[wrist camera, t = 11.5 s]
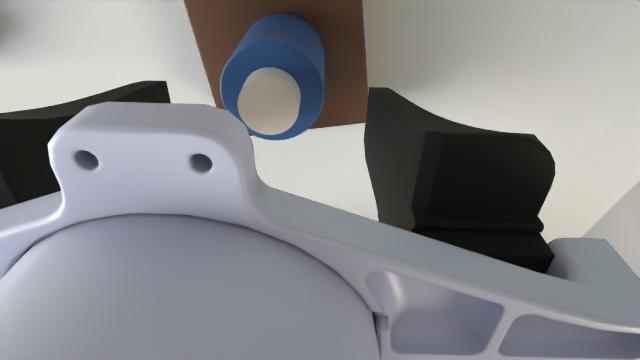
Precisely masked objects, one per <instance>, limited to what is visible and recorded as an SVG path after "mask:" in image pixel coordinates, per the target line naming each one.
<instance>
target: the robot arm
mask: <svg viewBox="0 0 640 360" xmlns="http://www.w3.org/2000/svg"><path fill="white" fill-rule="evenodd" d="M364 146H365V158H366V163H367V167H368V171H369V175H370V179H371V183H372V187H373V191H374V195H375V199H376V204H377V210H378V218H379V222H378V221H375V220H372V219H369V218H365V217H362V216H359V215H356V214H353V213H350V212H347V211H344V210H340V209H337V208H334V207H331V206H328V205H325V204H322V203H318V202H315V201H312V200H309V199H306V198H303V197H300V196H296V195H293V194H290V193H287V192H284V191H281V190H278V189H275V188H271V187H269V186H268V185H266V184H265V183H264V182H263V181H262V180H261V179H260V178H259V176H258V174H257V171H256V167H255V160H254V148H253V143H252V140H251V138H250V135H249V133H248V130H247V128H246V125H244V124H243V123H242V122H241V121H240V120H239V119H237V118H236V117H235V116H234V115H233V114H232V113H230V112H229V111H228V110H224V109H220V108H216V107H213V106H209V105H205V104H172V103H171V102H170V97H169V92H168V88H167V83H166V81H141V82H136V83H132V84H129V85H125V86H122V87H119V88H116V89H112V90H109V91H106V92H103V93H100V94H96V95H93V96H89V97H86V98H82V99H79V100H75V101H71V102H67V103H63V104H58V105H53V106H48V107H43V108H37V109H30V110H23V111H15V112H8V113H0V360H640V279H639V277H638V276H637V275H636V274H635V273H634V272H633V270H632V269H631V268H630V267H629V266H628V265H627V264H626V262H624V260H623V259H622V258H621V257H620V256H619V254H618V253H617V252H616V251H615V250H614V249H613V247H612V246H611V245H610V244H609V243H608V242H607V241H606V239H592V238H558V239H555V240H553V241H551V242H549V243H548V244H547V243H546V242H545V240H544V239H543V237H542V236H541V234H540V233H539V232H542V231H543V229H544V224H543V223H542V222H541V220H540V219H539V217H538V214H539V212H540V210H541V207H542V205H543V203H544V201H545V199H546V197H547V194H548V192H549V190H550V188H551V186H552V183H553V179H554V176H555V162H554V160H553V157H552V155H551V153H550V151H549V150H548V149H547V148H546V147H545V146H544V145H543V144H542V143H541V142H540V141H539V140H538V138H537V137H536V136H535V135H534V134H521V133H508V132H498V131H492V130H486V129H480V128H475V127H471V126H467V125H463V124H460V123H456V122H453V121H450V120H447V119H445V118H442V117H440V116H437V115H435V114H432V113H430V112H428V111H426V110H424V109H423V108H421V107H419V106H417V105H415V104H414V103H412V102H410V101H409V100H407V99H406V98H404V97H402V96H401V95H399V94H398V93H396V92H395V91H393V90H391V89H389V88H380V87H369V95H368V105H367V114H366V124H365V133H364Z"/></svg>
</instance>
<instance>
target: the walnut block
mask: <svg viewBox="0 0 640 360" xmlns="http://www.w3.org/2000/svg"><path fill="white" fill-rule="evenodd" d="M183 1H184V4H185V7H186V10H187V14H188V17H189V20H190V23H191V26H192V30H193V33H194V36H195V39H196V43H197V46H198V49H199V52H200V56H201V59H202V62H203V65H204V68H205V72H206V75H207V78H208V81H209V85H210V88H211V91H212V94H213V97H214V101H215V104H216V107H217V108H220V109H224V110H226V109H225V107H224V105H223V102H222V99H221V94H220V79H221V74H222V71H223V68H224V66H225V64H226V63H227V61H228V60H229V58H230V57H231V55H232V54H233V52H234V51H235V49H236V48H237V47H238V45H239V44H240V42H241V41H242V39H243V38H244V36H245V35H246V33H247V32H248V31H249V29H250V28H251V27H252V26H253V24H254V23H256V22H257V21H258V20H260V19H261V18H263V17H266V16H268V15H272V14H278V13H283V14H290V15H294V16H297V17H299V18H301V19H303V20H304V21H306V22H307V23H308V24H309V25H311V26H312V27H313V29H314V30H315V31H316V32H317V34H318V35H319V37H320V39H321V42H322V44H323V48H324V55H325V63H324V102H323V106H322V109H321V112H320V114H319V116H318V118H317V119H316V121H315V122H314V123H313V124H312V126H311V127H309V128H308V129H314V128H323V127H332V126H341V125H350V124H358V123H366V114H367V105H368V84H367V68H366V52H365V36H364V20H363V4H362V0H183ZM249 135H250V136H252V135H251V134H250V133H249Z"/></svg>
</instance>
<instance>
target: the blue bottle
mask: <svg viewBox="0 0 640 360" xmlns="http://www.w3.org/2000/svg"><path fill="white" fill-rule="evenodd" d="M324 63H325V55H324V48H323V44H322V42H321V39H320V37H319V35H318V34H317V32H316V31H315V30H314V29H313V27H312V26H311V25H309V24H308V23H307V22H306V21H304V20H303V19H301V18H299V17H297V16H294V15H290V14H283V13H278V14H272V15H268V16H266V17H263V18H261V19H260V20H258V21H257V22H256V23H254V24H253V26H252V27H251V28H250V29H249V31H248V32H247V33H246V35H245V36H244V38H243V39H242V41H241V42H240V44H239V45H238V47H237V48H236V49H235V51H234V52H233V54H232V55H231V57H230V58H229V60H228V61H227V63H226V64H225V66H224V68H223V71H222V74H221V79H220V94H221V99H222V102H223V105H224V107H225V109H226V110H228V111H229V112H230V113H232V114H233V115H234V116H235V117H236V118H237V119H239V120H240V121H241V122H242V123H243V124H244V125H246V128H247V130H248V133H250V134H251V135H254V136H256V137H259V138H263V139H268V140H284V139H289V138H292V137H295V136H297V135H299V134H301V133H303V132H304V131H306V130H307V129H308V128H309V127H311V126H312V124H313V123H314V122H315V121H316V119H317V118H318V116H319V114H320V112H321V109H322V106H323V102H324Z"/></svg>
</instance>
